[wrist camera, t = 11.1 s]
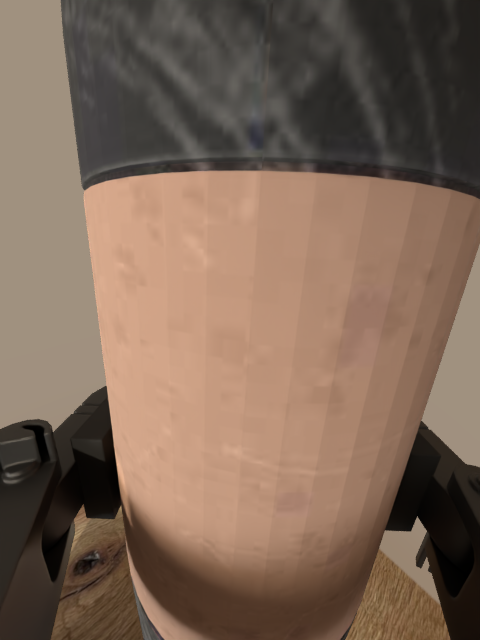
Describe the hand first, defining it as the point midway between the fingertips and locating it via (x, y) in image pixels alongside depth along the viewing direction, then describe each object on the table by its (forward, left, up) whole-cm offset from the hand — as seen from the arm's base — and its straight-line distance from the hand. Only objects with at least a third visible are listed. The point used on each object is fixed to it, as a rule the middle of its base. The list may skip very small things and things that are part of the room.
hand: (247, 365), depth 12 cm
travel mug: (0, +5, -11) cm, 12 cm away
